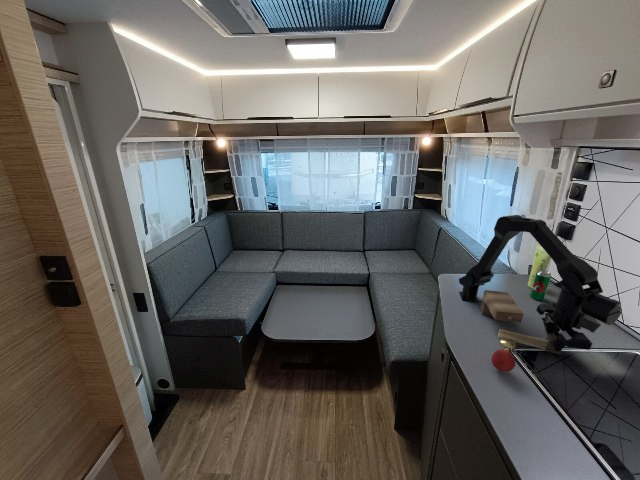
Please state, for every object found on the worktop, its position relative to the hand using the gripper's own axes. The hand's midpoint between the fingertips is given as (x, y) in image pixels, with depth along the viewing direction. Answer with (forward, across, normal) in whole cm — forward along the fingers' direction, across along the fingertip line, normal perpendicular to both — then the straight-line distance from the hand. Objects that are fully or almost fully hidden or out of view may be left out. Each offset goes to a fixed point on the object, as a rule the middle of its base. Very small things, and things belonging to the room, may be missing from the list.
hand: (553, 346), depth 92 cm
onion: (+2, -12, +19) cm, 23 cm away
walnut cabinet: (+2, +13, +12) cm, 18 cm away
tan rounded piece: (+2, 0, +13) cm, 13 cm away
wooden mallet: (+1, +2, +7) cm, 7 cm away
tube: (+2, +45, -13) cm, 47 cm away
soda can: (+2, +35, -10) cm, 36 cm away
